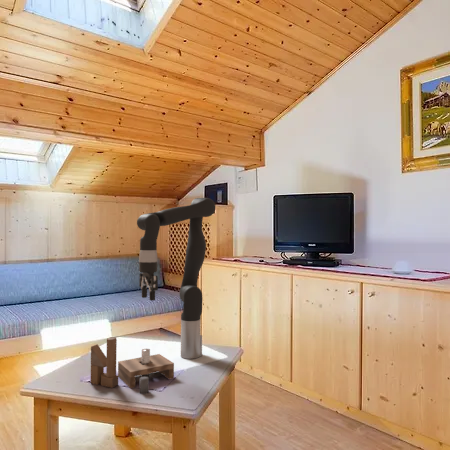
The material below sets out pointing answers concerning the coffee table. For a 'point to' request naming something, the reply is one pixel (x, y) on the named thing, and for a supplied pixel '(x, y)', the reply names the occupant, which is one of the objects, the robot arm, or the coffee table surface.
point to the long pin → (145, 360)
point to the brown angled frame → (104, 364)
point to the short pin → (143, 385)
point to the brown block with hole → (144, 368)
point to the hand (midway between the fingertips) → (148, 298)
